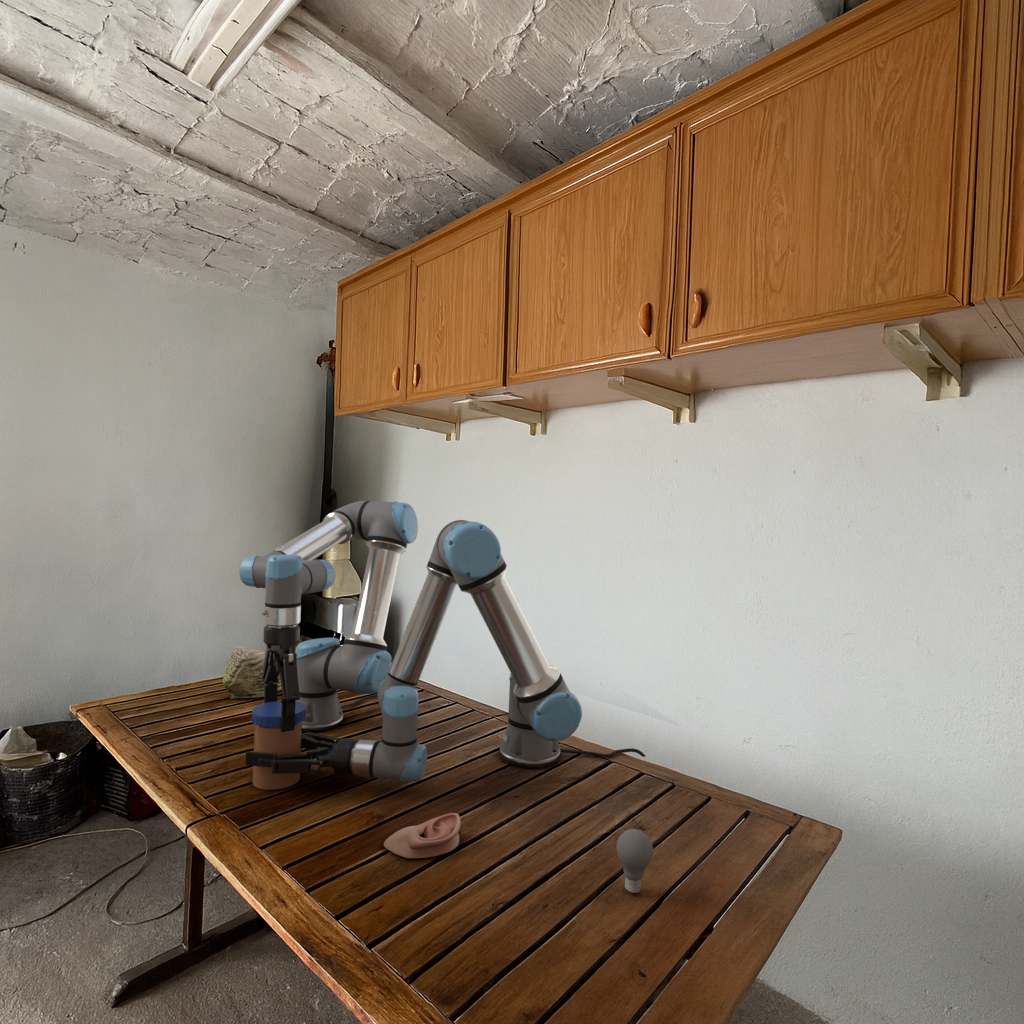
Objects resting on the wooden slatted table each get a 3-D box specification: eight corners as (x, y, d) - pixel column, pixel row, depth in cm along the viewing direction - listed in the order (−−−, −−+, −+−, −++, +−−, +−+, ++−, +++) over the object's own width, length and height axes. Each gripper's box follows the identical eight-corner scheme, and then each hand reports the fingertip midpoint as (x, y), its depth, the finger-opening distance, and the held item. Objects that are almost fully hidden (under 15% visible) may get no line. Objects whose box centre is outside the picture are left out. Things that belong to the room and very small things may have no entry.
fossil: (218, 695, 195) (220, 647, 195) (278, 685, 208) (279, 640, 207) (228, 703, 189) (230, 653, 188) (289, 692, 201) (290, 645, 201)
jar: (289, 791, 136) (292, 720, 135) (244, 788, 136) (246, 717, 136) (306, 771, 146) (309, 705, 145) (264, 768, 146) (266, 702, 146)
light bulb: (610, 879, 108) (613, 822, 108) (644, 879, 109) (647, 822, 109) (619, 902, 102) (622, 840, 102) (655, 901, 103) (658, 840, 103)
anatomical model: (377, 831, 113) (401, 802, 124) (376, 853, 113) (400, 822, 124) (448, 842, 110) (466, 811, 122) (447, 865, 111) (465, 832, 122)
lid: (316, 717, 142) (316, 707, 142) (272, 731, 133) (273, 720, 133) (284, 706, 148) (284, 697, 148) (240, 719, 139) (241, 709, 139)
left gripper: (249, 616, 148) (246, 708, 148) (281, 637, 128) (277, 743, 129) (282, 614, 152) (279, 703, 153) (318, 634, 133) (314, 736, 133)
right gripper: (334, 798, 128) (230, 787, 130) (372, 754, 150) (282, 745, 152) (336, 761, 127) (231, 751, 130) (373, 722, 150) (283, 715, 152)
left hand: (278, 721), depth 141 cm, fingers open, 12 cm apart
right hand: (259, 748), depth 141 cm, fingers closed on jar, 10 cm apart
